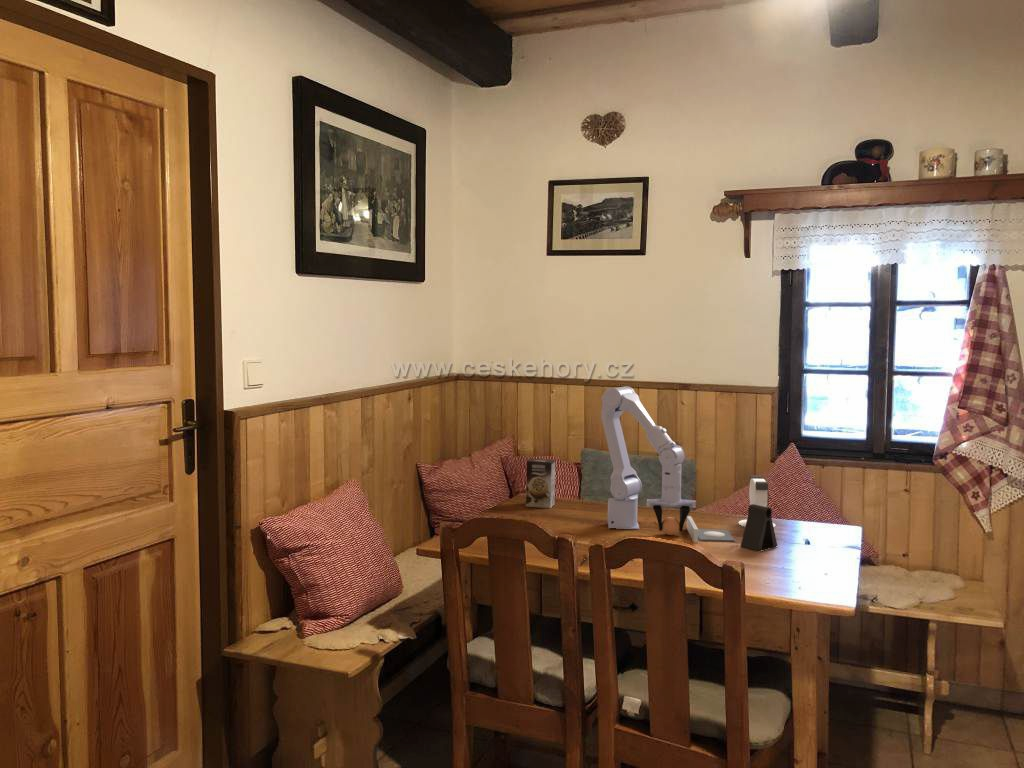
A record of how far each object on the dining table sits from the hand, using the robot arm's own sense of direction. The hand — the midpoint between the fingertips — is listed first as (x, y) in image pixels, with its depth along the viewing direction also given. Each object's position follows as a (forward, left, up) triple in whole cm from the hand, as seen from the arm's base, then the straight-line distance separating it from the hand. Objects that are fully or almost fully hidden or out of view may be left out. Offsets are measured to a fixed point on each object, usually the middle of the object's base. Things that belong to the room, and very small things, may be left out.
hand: (670, 530), depth 253 cm
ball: (0, 0, +1) cm, 1 cm away
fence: (+7, 0, -1) cm, 7 cm away
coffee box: (-41, +35, -2) cm, 54 cm away
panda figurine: (+29, +15, -2) cm, 33 cm away
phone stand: (+24, -11, -2) cm, 26 cm away
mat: (+13, 0, -1) cm, 13 cm away
